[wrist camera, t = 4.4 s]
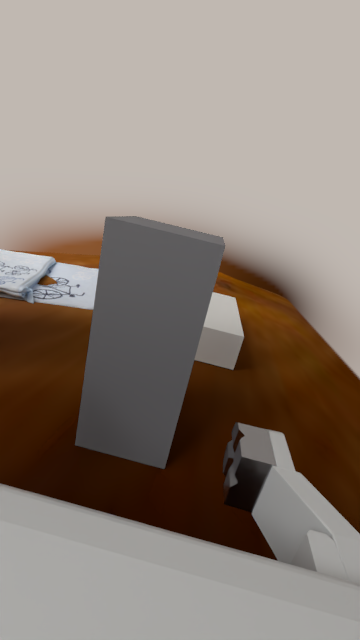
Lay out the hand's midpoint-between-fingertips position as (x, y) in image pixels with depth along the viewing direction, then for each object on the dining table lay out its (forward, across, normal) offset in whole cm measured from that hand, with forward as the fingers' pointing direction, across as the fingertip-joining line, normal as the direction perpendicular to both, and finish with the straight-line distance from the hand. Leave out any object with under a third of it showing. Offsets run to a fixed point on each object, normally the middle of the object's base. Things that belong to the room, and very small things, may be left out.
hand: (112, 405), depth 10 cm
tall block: (+7, 0, +6) cm, 9 cm away
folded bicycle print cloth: (+30, +19, +7) cm, 36 cm away
